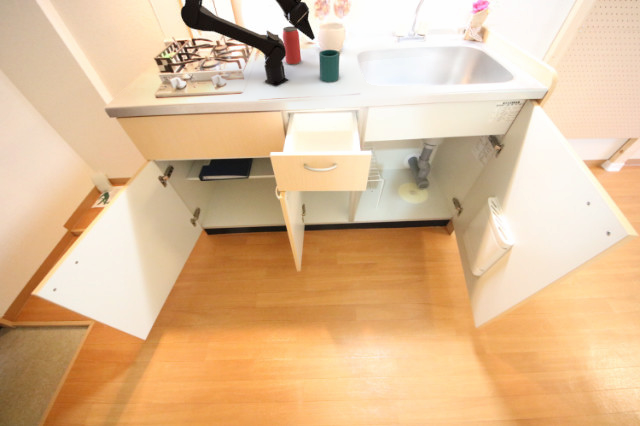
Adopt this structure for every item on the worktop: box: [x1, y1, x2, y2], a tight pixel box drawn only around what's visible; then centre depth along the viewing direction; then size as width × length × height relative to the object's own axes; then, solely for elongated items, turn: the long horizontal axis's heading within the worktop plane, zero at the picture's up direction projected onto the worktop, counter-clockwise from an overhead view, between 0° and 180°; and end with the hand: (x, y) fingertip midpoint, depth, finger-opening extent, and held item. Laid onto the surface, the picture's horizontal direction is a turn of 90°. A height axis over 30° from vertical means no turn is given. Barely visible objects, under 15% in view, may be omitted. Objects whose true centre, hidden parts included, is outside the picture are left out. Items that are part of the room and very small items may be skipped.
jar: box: [318, 50, 340, 83], centre depth 89 cm, size 7×7×8 cm
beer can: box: [282, 26, 302, 65], centre depth 99 cm, size 7×7×12 cm
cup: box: [316, 22, 346, 52], centre depth 106 cm, size 12×12×10 cm
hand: (311, 37), depth 82 cm, fingers open, 9 cm apart
